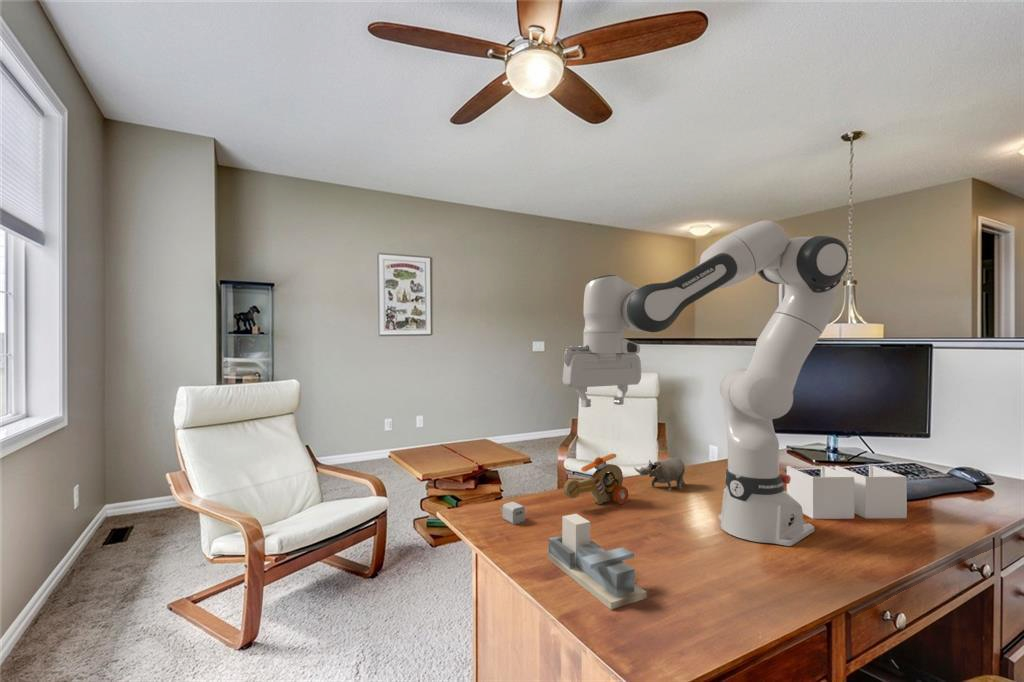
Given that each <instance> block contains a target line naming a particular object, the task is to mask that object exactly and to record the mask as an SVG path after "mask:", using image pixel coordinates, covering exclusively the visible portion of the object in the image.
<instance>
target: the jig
mask: <svg viewBox="0 0 1024 682" xmlns="http://www.w3.org/2000/svg"><path fill="white" fill-rule="evenodd" d="M546 556H547V560H548V561H550V562H551V563H553V564H554V565H555V566H556V567H557V568H558V569H560V570H561V571H562V572H563V573H564V574H566V575H567V576H568V577H570V578H571V579H573V581H575V583H577V584H579V586H581V587H582V588H583V589H584V590H586V591H587V592H588V593H590V594H591V595H592V596H593V597H595V598H596V599H597V600H598V601H599V602H601V604H603V605H605V607H607V608H608V609H609V610H610V611H611V610H614V609H618V608H621V607H624V606H627V605H630V604H633V603H636V602H640V601H642V600H646V599H647V597H648V591H647V590H646V589H643V588H642V587H641V586H639V585H638V584H636V583H635V568H633V567H631V566H630V565H628V564H627V563H626V562H624V561H626V560H630V559H633V558H634V557H635V552H633V551H631V550H630V549H627V548H626V547H624V546H622V547H618V548H617V547H616V548H614V549H609V550H605V549H604V548H602V547H601V546H600V545H598V544H597V543H596V542H594V541H592V540H591V539H590V544H587V545H583V546H579V547H577V565H576V564H575V552H574V551H572V550H571V549H569V548H568V547H566V546H565V545H564V544H562V535H557V536H553V537H549V538H548V552H547V555H546Z"/></svg>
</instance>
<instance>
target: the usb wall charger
mask: <svg viewBox="0 0 1024 682" xmlns="http://www.w3.org/2000/svg"><path fill="white" fill-rule="evenodd" d="M499 510H500V511H501V512H502V519H503V520H505V521H507V522H508V523H510V524H512V525H518V524H520V522H521V523H524V522H525V521H526V506H525V505H522V504H519V503H517V502H515V501H510V502H506V503H503V505H502V507H501V506H500V507H499ZM523 521H524V522H523ZM517 523H518V524H517Z"/></svg>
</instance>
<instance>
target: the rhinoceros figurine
mask: <svg viewBox="0 0 1024 682" xmlns="http://www.w3.org/2000/svg"><path fill="white" fill-rule="evenodd" d="M633 469H635V472H637V473H638V474H639V475H640V476H648V475H649V478H653V477H654V478H653V479H652V481H651V487H652V486H654V487H655V483H657V484H667V485H668V487H667V488H668V489H667V491H668V492H672V485H671V482H675V483H676V486H675V487H676V488H675V489H677V490H680V489H681V490H682V486H685V484H686V482H685V481H684V475H685V473H686V466H685V463H684V461H682V459H681V458H680V457H678V456H675V457H668V458H666V459H664V460H663V461H660V460H657V461H654V462H652V461H651V459H649V460H648V465H647V466H646V467H643V466H641V467H640V468H639V469H638V468H636V467H635V466H633Z"/></svg>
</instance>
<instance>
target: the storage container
mask: <svg viewBox="0 0 1024 682" xmlns="http://www.w3.org/2000/svg"><path fill="white" fill-rule="evenodd" d="M786 475H789V476H790V477H791V478H790V479H791V481H790V483H789V484H787V483H786V492H787V493H788V494H789V495H790V496H791V497H792V498H794V499H795V500H796V501H797V502H798V503H799V504H800V505H801V507H802V511H803V515H805V516H807V517H808V518H810V519H812V520H817V519H818V520H827V519H829V520H833V519H836V520H837V519H839V520H841V519H848V520H849V519H855V515H857V516H859V517H862V518H864V519H907V517H908V516H907V515H908V514H907V513H908V507H907V506H908V503H907V502H908V501H907V499H908V497H907V496H908V493H907V491H908V490H907V488H908V487H907V486H908V485H907V482H908V479H907V476H906V475H902V474H900V473H896V472H893V471H891V470H887V469H884V468H881V467H878V466H875V465H868V476H866V475H862V474H860V473H857V472H854V471H851V470H849V469H847V468H844V467H841V466H840V465H834V468H831V467H829V466H826V465H820V476H812V475H810V474H808V473H805V472H803V471H800V470H799V469H796V468H793V467H792V465H787V466H786Z"/></svg>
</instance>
